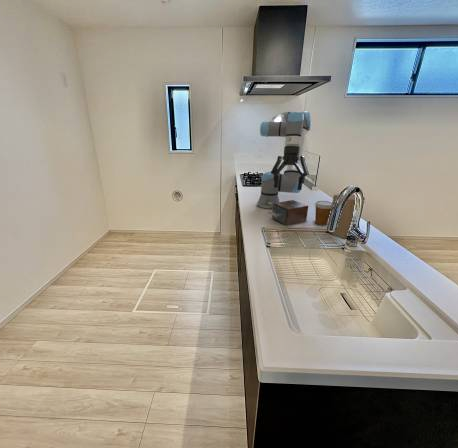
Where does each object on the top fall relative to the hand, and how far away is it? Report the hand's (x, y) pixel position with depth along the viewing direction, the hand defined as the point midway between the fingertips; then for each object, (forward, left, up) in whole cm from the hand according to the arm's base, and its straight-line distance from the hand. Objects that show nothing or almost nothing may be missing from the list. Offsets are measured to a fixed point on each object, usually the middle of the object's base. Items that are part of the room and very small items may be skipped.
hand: (287, 188), depth 124 cm
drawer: (-7, +6, -20) cm, 22 cm away
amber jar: (+5, +23, -22) cm, 32 cm away
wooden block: (+20, +21, -22) cm, 36 cm away
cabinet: (-7, +10, -21) cm, 24 cm away
